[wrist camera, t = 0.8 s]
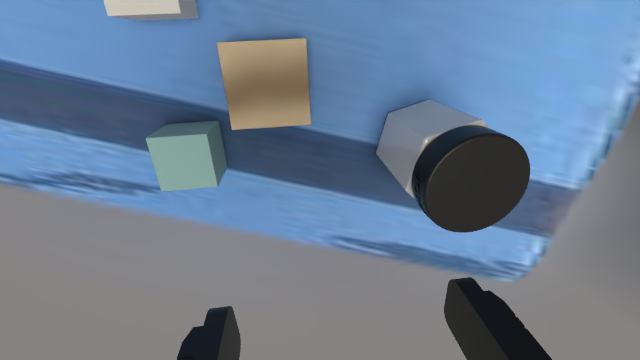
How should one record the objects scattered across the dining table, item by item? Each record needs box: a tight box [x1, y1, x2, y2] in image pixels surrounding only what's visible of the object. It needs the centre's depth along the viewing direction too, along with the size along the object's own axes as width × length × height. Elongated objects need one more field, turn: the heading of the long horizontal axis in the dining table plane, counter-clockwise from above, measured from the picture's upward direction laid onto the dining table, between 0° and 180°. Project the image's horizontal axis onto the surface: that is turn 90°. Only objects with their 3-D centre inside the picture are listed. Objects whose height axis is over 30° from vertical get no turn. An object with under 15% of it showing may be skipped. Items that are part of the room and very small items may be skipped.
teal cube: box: [146, 121, 227, 191], centre depth 28 cm, size 5×5×5 cm
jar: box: [376, 99, 530, 232], centre depth 27 cm, size 9×8×12 cm
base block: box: [217, 38, 311, 130], centre depth 27 cm, size 7×7×4 cm
